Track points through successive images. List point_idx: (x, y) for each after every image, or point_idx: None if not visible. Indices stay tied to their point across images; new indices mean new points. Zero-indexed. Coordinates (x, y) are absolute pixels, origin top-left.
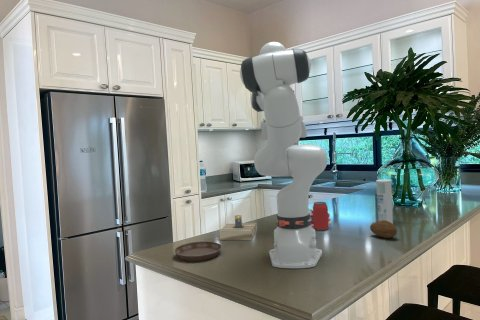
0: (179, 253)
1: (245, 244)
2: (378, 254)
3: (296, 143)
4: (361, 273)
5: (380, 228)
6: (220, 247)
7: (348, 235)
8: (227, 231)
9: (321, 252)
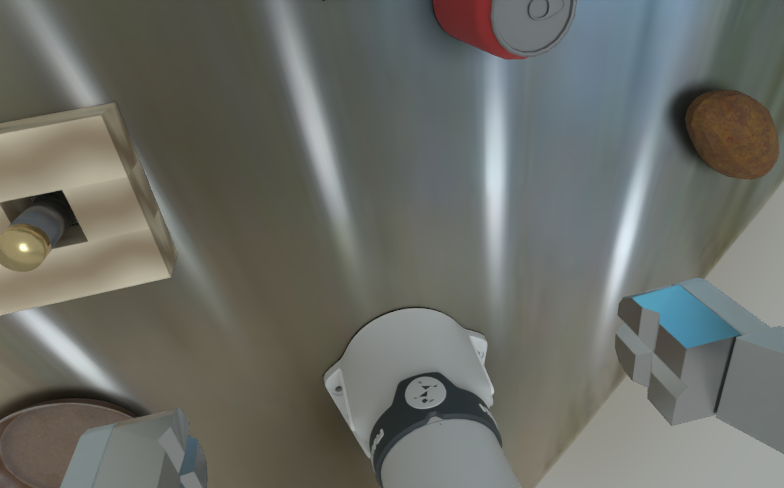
0: (7, 475)
1: (184, 314)
2: None
3: (758, 426)
4: (566, 425)
5: (718, 167)
6: None
7: (585, 112)
8: (43, 304)
9: (485, 354)
